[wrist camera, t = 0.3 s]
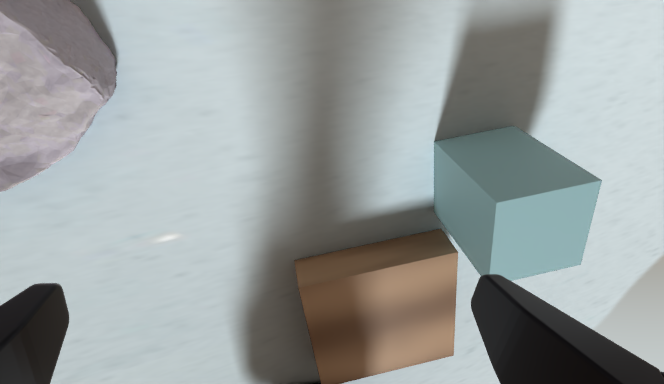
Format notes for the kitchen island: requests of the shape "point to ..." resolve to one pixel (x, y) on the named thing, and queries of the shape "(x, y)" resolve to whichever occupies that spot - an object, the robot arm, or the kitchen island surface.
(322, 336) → the walnut base block
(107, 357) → the kitchen island surface
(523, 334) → the robot arm
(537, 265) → the teal block
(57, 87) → the stone block
